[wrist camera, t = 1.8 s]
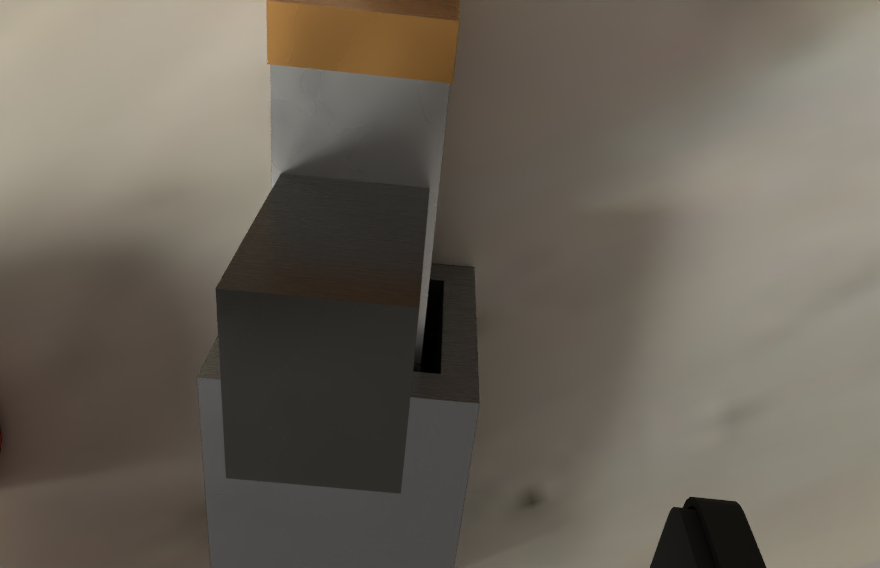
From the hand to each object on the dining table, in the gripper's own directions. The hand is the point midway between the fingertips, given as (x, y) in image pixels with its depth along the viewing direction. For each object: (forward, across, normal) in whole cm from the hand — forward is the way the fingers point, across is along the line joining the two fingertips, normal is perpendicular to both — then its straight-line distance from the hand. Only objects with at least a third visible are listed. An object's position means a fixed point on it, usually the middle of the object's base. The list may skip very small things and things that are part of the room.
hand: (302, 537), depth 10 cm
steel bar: (+12, +1, +5) cm, 13 cm away
